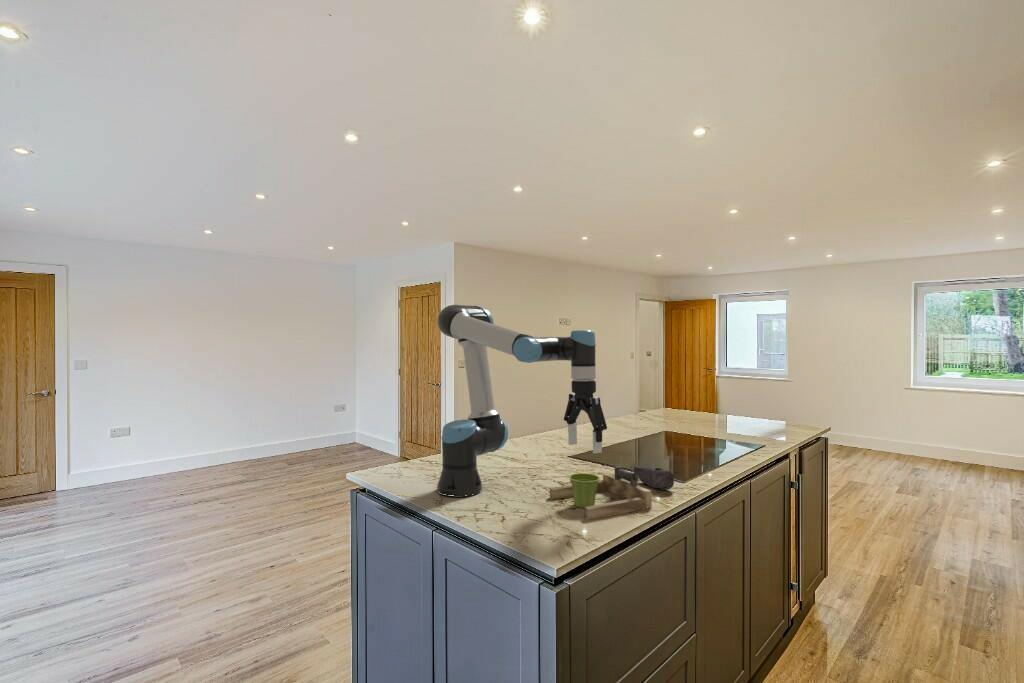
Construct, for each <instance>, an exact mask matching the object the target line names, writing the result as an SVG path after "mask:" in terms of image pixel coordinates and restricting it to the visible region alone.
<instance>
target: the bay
mask: <svg viewBox="0 0 1024 683" xmlns="http://www.w3.org/2000/svg"><path fill="white" fill-rule="evenodd" d="M633 468H634V469H633V471H632V472H631V471H629V470H625V469H623V468H622V466H621V465H617V466H614V475H613V474H611V473H603V474H602V479H600V480H599V481H598V485H597V489H596V493H598V492H597V491H599V492H604V491H603V490H605V491H607V490H608V492H610V493H612V494H613V495H616V494H617V495H616V496H618V495H619V497H621V498H623V497H624V498H623V499H622V500H617V501H611V502H606V503H605V502H604V503H600V504H594V506H588V507H583V508H584V518H585V519H586V518H587V519H586V520H588V519H590V520H595V519H599V518H605V517H610V516H609V515H611V516H615V514H616V515H620V513H621V514H624V512H626V513H630V512H629V511H631V512H634V511H633V510H636V511H639V510H638V509H641V510H644V509H643V508H646V509H648V508H647V507H651V508H653V507H652V506H653V504H652V499H653V498H652V497H653V496H652V492H653V491H652V490H650V489H648V488H645V487H642V486H641V485H639V484H638V481H639V477H638V471H640V472H643V468H642V467H641V466H637V465H636V466H635V465H634V467H633ZM569 497H573V489H572V484H569V485H562V486H556V487H555V486H554V487H550V488H549V498H551V499H552V500H557V499H562V498H569ZM625 498H626V499H625ZM604 516H605V517H604ZM594 518H595V519H594Z"/></svg>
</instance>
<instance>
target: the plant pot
mask: <svg viewBox="0 0 1024 683" xmlns="http://www.w3.org/2000/svg"><path fill="white" fill-rule="evenodd" d="M568 478H569V480H570V485H572V489H573V496H572V497H573V504H574V505H575V507H578V508H582V509H583V508H584V507H588V506H594V505H596V504H595V502H596V496H597V495H596V494H597V492H596V489H597V485H598V481H599V480H601V479H600V476H598V475H595V474H592V473H583V472H581V473H572V474H570V475H569V476H568Z"/></svg>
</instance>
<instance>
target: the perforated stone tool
mask: <svg viewBox="0 0 1024 683" xmlns="http://www.w3.org/2000/svg"><path fill="white" fill-rule="evenodd" d="M641 468H643V472H640V471H638V480H639V481H640V482H641V483H642V484H644V485H647V486H648V485H649V486H648V487H650V486H651V487H650V488H653V487H654V488H653V489H659V490H661V491H666V490H671V489H672V488H673V487H674V484H675V481H674V480H675V479H674V473H672V471H669V470H667V469H664V468H660V467H655V466H643V467H641ZM665 489H666V490H665Z"/></svg>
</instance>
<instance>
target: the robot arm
mask: <svg viewBox="0 0 1024 683" xmlns="http://www.w3.org/2000/svg"><path fill="white" fill-rule="evenodd" d="M437 326H438V329H439V331H440V332H441V333H442V334H443V335H445V336H446V337H450V338H453V339H455V340H457V344H458V345H460V346H461V347H462V349H463V357H464V366H465V372H466V380H467V389H468V398H469V404H470V414H469V415H468V417H467V419H466V418H465V419H460V420H457V419H455V420H453V421H450V422H447V423H446V424H444V426H443V428H442V432H441V433H442V435H441V445H442V446H441V447H442V449H441V450H442V451H441V454H442V457H441V458H442V468H441V472H440V476H439V478H438V482H437V490H438V491H439V492H440V493H442V494H446V495H454V496H465V495H472V494H476V493H478V494H480V493H481V492H482V491H483V482H482V480H481V476H480V474H479V469H478V467H477V466H478V464H477V463H478V461H477V459H478V458H477V457H478V456H481V455H484V454H488V453H494V452H496V451H497V450H498V451H499V450H500V449H502V448H503V447H504V446H505V444H506V443H507V442H508V439H509V428H508V425H507V423H506V422H505V421H504V420H503V418H501V416H500V412H499V411H497V410H496V408H495V403H494V395H493V394H494V393H493V387H492V380H491V378H492V377H491V371H490V364H489V363H490V362H489V358H488V349H487V348H489V349H490V348H491V349H493V350H496V351H499V352H503V353H505V354H508V355H510V356H514V357H515V358H516V359H517V361H519V362H521V363H528V364H530V363H531V364H532V363H537V362H539V363H540V362H551V361H552V362H553V361H555V362H556V361H571V362H570V364H571V365H570V366H571V367H570V368H571V373H570V375H571V376H570V377H571V379H572V381H571V392H572V393H569V394H568V402H567V405H566V409H565V414H564V416H563V421H564V422H566V424H567V432H568V434H567V436H568V438H567V439H568V445H569V446H573V445H577V444H578V436H577V435H578V433H577V432H578V430H577V429H578V424H577V419H578V417H579V415H580V414H581V412H582V411H584V412H585V413H586V414H587V417H588V420H589V421H590V423H591V426H592V427H593V430H592V454H602V453H603V447H602V446H603V431H605V430H608V426H607V423H606V422H607V421H606V418H605V415H604V410H603V408H602V405H601V397H599V396H595V397H594V394H595V393H596V392H597V381H596V380H595V379H596V378H597V377H596V374H597V373H596V372H597V371H596V366H597V365H596V346H597V343H596V334H595V331H594V330H591V329H588V330H587V329H585V330H584V329H581V330H580V329H579V330H577V329H576V330H571V332H570V336H539V337H538V336H533V335H528V334H526V333H523V332H520V331H517V330H514V329H513V330H512V329H510V328H508V327H503V326H500V325H496V324H495V323H494V319H493V316H492V314H491V312H490V311H489V310H488V309H486V307H482V306H478V305H461V304H452V305H448V306H445V307H444V308H443V309H441V311H440V312H439V314H438V317H437ZM481 490H482V491H481ZM438 491H437V492H438ZM480 491H481V492H480ZM479 492H480V493H479ZM476 495H477V494H476ZM472 496H473V495H472Z"/></svg>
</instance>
